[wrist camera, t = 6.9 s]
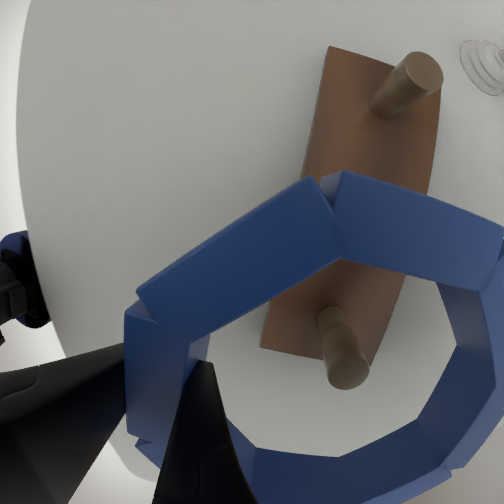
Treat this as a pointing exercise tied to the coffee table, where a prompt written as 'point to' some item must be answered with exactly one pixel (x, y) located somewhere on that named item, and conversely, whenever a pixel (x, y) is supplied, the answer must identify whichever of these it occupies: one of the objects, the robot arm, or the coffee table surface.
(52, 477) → the robot arm
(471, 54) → the chalice
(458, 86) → the coffee table surface
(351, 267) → the rack
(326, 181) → the ring
